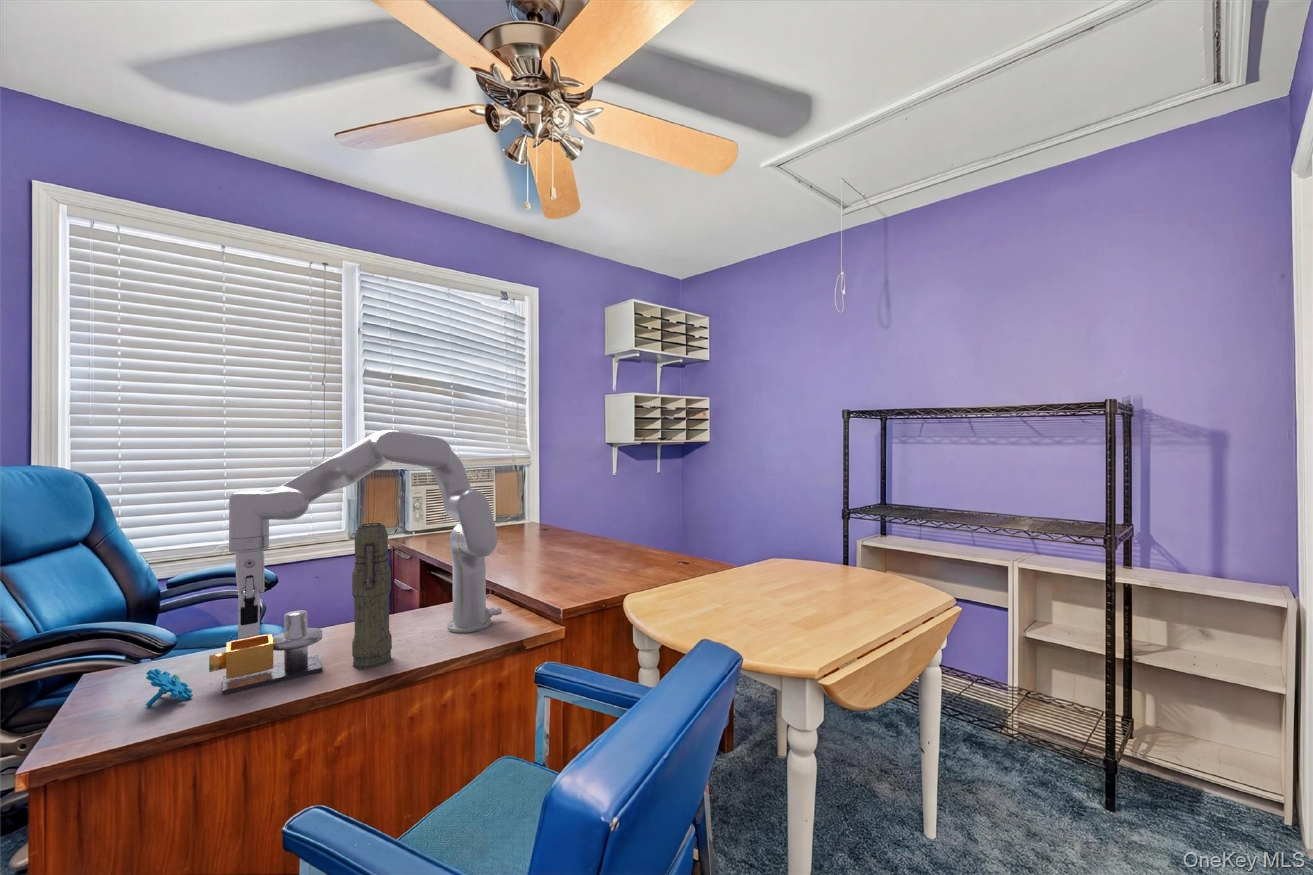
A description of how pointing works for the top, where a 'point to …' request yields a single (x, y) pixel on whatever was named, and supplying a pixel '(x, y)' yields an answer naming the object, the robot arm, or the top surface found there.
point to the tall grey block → (250, 628)
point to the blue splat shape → (167, 686)
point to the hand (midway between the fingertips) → (249, 620)
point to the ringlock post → (269, 656)
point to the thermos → (371, 597)
